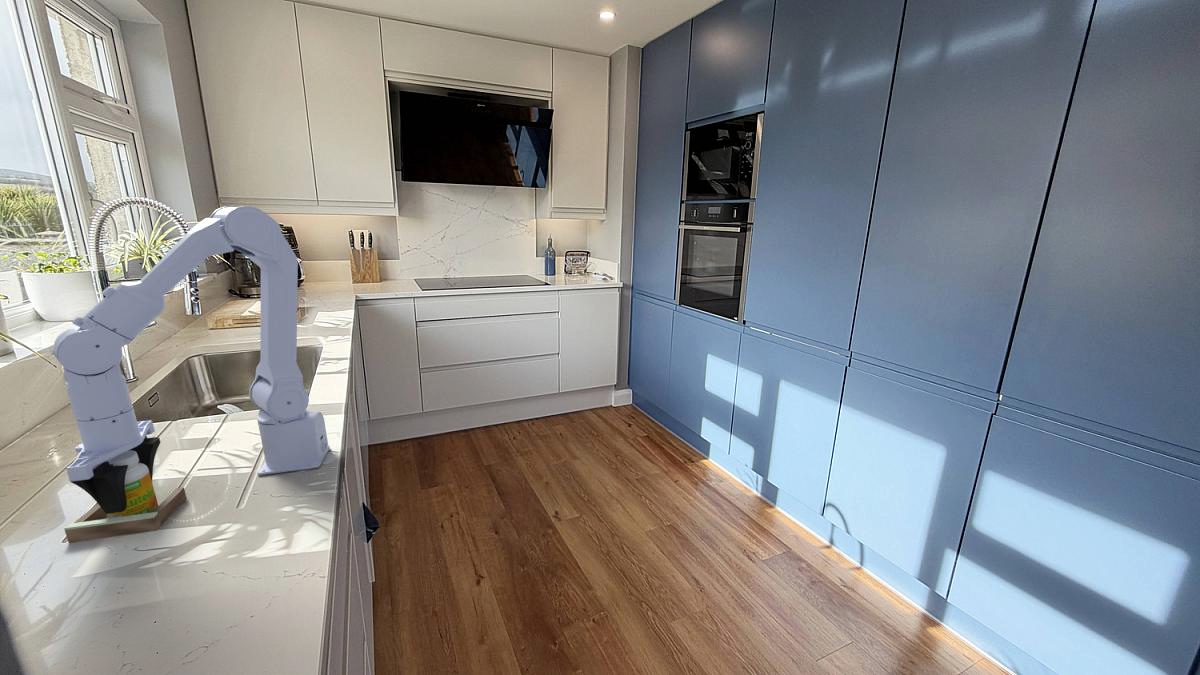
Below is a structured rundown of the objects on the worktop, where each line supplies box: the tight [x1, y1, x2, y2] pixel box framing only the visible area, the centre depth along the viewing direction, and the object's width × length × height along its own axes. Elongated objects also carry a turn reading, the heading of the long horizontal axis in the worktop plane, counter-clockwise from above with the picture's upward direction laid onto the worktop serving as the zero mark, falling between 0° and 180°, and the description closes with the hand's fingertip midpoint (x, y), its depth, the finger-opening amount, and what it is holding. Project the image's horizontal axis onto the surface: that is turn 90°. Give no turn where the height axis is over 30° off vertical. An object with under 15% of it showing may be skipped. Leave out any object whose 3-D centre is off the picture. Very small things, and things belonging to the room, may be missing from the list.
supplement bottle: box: [106, 450, 159, 519], centre depth 71 cm, size 5×5×10 cm
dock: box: [64, 487, 188, 544], centre depth 71 cm, size 10×8×2 cm
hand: (129, 499), depth 71 cm, fingers open, 5 cm apart
